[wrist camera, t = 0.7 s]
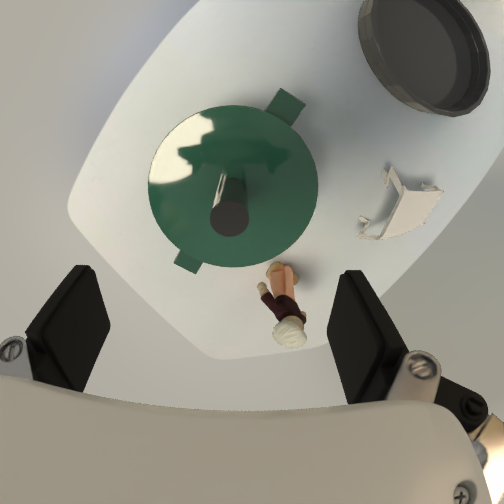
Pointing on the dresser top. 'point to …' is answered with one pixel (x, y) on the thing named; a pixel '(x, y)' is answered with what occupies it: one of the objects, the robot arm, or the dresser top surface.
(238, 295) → the dresser top surface
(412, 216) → the origami figure
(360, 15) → the pan
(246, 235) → the lid
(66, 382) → the robot arm
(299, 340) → the grandmother figurine
